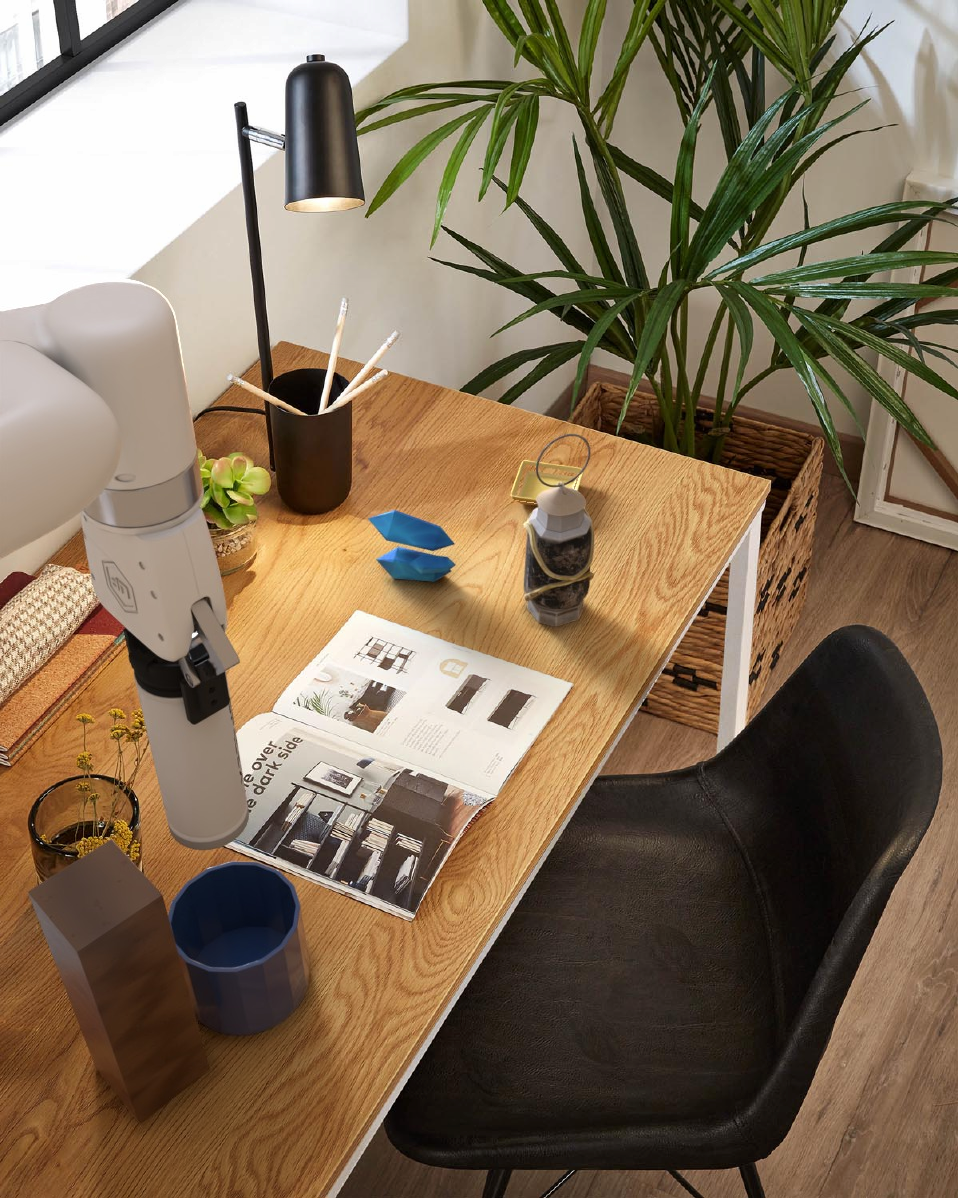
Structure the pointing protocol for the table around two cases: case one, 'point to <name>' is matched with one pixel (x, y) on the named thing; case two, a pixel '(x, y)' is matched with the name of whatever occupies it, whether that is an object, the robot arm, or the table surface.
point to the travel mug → (190, 755)
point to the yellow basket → (535, 487)
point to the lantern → (558, 552)
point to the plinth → (122, 977)
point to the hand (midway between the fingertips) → (180, 685)
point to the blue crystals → (417, 535)
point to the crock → (241, 946)
